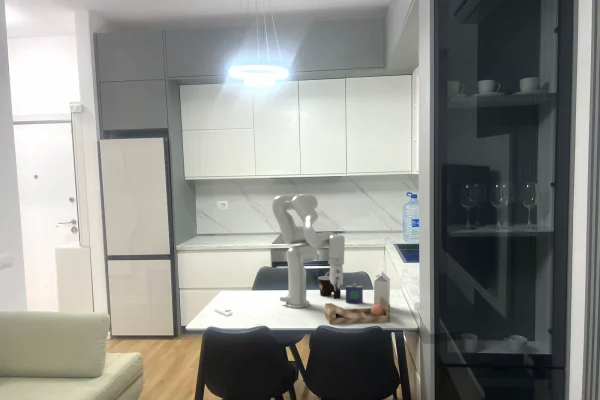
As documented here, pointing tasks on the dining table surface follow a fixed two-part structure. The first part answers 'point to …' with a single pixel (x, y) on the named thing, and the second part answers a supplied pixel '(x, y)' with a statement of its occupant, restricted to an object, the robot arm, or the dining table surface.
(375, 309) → the ball
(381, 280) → the milk carton
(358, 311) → the wooden tray
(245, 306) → the dining table surface
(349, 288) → the flask
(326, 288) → the coffee mug
